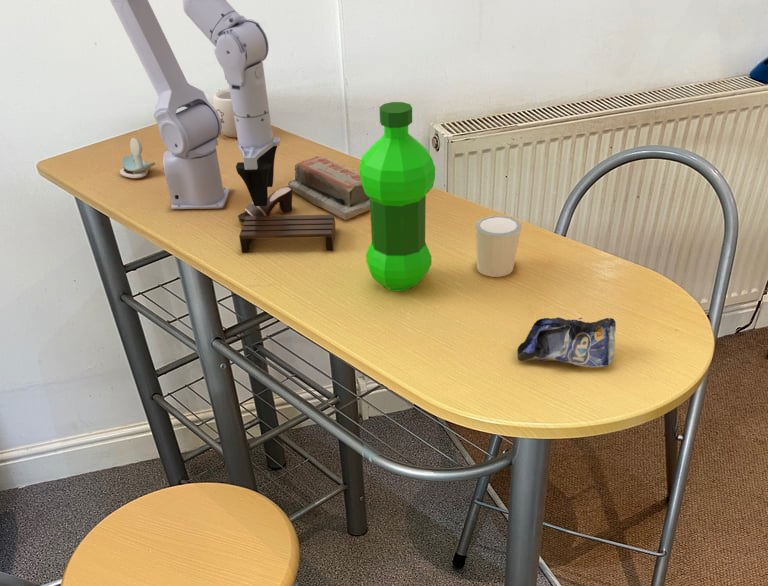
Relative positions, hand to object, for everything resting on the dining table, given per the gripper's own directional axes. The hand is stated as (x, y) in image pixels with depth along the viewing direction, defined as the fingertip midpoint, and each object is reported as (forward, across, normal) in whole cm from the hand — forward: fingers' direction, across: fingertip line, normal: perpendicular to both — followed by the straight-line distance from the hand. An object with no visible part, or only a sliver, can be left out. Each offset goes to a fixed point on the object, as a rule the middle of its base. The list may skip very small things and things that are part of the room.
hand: (263, 195), depth 132 cm
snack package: (+4, -44, -46) cm, 63 cm away
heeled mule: (+4, 0, 0) cm, 4 cm away
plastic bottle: (+4, -24, -24) cm, 34 cm away
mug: (+4, +39, +10) cm, 41 cm away
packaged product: (+4, +7, -12) cm, 15 cm away
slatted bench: (+4, -10, -5) cm, 12 cm away
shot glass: (+4, -20, -39) cm, 44 cm away
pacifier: (+4, +20, +28) cm, 35 cm away
